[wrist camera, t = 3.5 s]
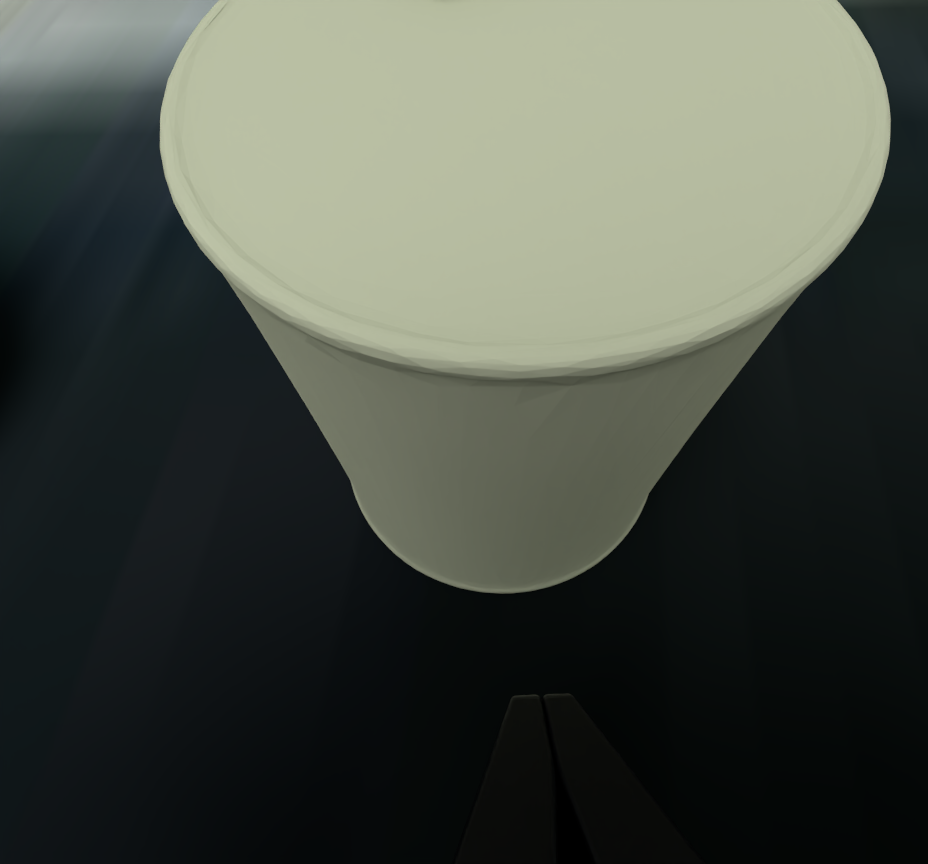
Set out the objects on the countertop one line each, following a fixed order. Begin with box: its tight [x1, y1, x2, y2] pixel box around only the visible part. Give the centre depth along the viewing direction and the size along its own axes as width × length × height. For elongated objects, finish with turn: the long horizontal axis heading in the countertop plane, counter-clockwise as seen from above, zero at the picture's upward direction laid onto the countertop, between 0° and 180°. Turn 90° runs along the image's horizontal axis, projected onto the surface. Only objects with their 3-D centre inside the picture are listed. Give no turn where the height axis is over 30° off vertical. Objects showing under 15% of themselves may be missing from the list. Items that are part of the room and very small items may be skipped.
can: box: [160, 0, 891, 593], centre depth 12 cm, size 9×9×12 cm
